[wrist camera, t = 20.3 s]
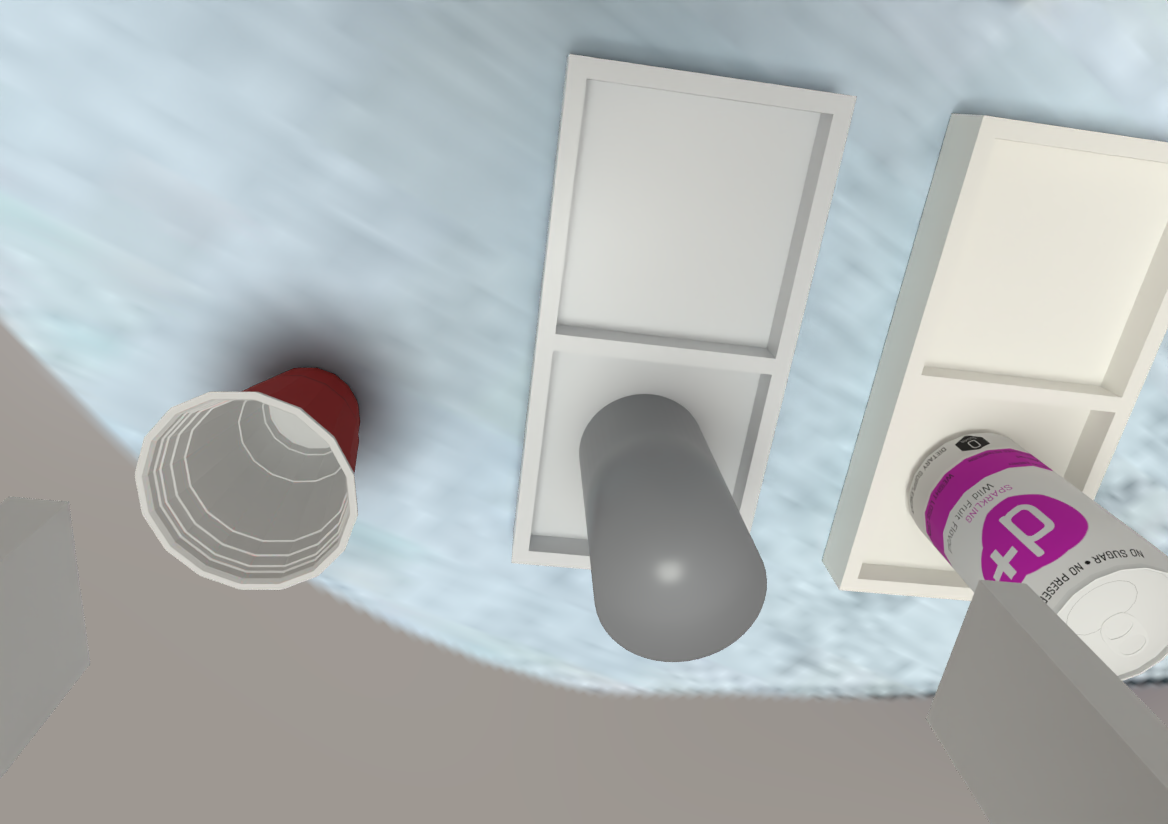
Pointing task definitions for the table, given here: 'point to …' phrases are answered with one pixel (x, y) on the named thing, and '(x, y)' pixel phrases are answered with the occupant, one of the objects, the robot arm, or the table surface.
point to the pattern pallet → (670, 339)
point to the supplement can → (1045, 545)
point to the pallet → (1009, 329)
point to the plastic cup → (255, 480)
